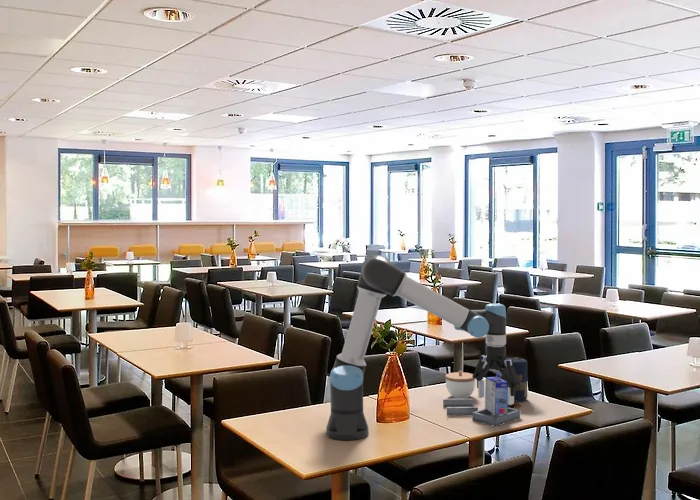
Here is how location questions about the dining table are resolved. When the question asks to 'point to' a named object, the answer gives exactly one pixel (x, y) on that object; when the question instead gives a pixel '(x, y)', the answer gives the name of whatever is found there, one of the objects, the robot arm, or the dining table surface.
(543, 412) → the dining table surface
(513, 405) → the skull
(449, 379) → the lidded bowl
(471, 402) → the dock rails
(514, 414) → the tray
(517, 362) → the canister
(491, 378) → the ink cartridge box
